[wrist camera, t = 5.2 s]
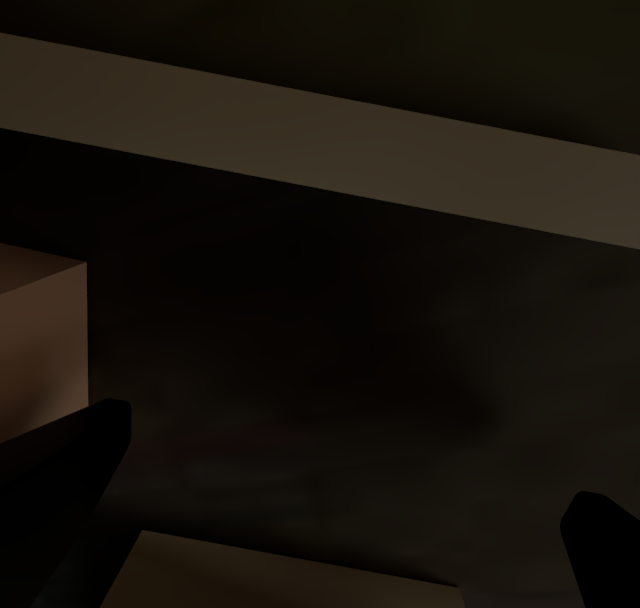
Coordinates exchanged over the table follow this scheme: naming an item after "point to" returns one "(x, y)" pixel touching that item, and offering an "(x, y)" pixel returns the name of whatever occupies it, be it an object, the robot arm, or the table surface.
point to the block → (41, 339)
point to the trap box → (320, 172)
